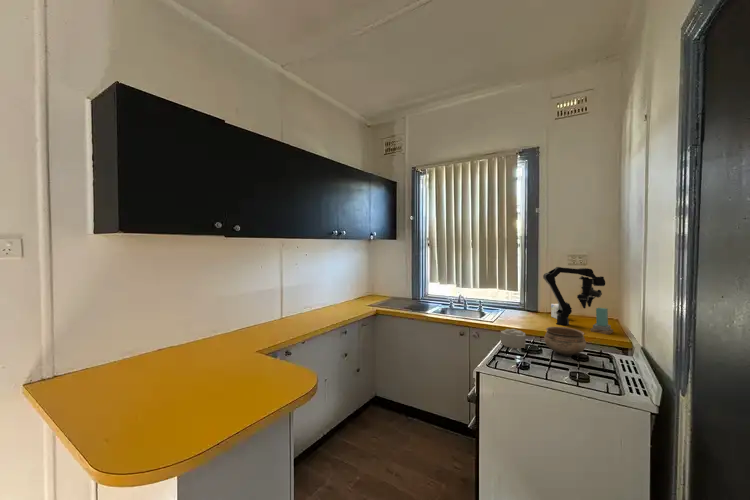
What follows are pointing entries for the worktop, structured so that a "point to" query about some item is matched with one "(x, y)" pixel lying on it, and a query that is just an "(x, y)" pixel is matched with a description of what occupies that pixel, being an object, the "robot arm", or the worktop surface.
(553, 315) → the light bulb box
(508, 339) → the lumpy-topped squat cylinder
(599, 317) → the teal pillar block
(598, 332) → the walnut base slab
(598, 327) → the charcoal top slab
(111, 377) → the worktop surface
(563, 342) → the cooking pot
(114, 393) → the worktop surface
